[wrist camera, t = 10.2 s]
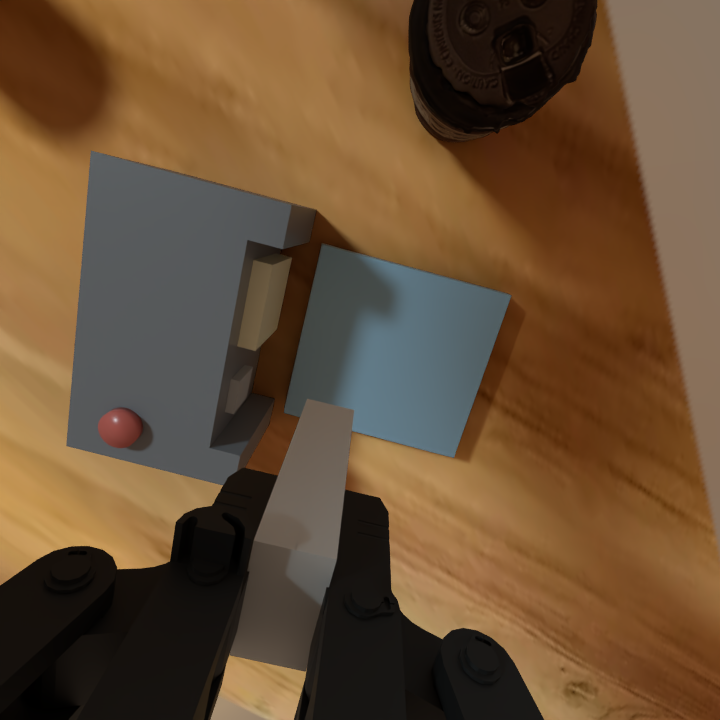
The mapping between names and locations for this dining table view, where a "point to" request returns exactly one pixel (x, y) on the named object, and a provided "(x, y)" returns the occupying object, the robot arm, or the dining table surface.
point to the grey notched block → (176, 317)
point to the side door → (395, 348)
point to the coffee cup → (492, 60)
